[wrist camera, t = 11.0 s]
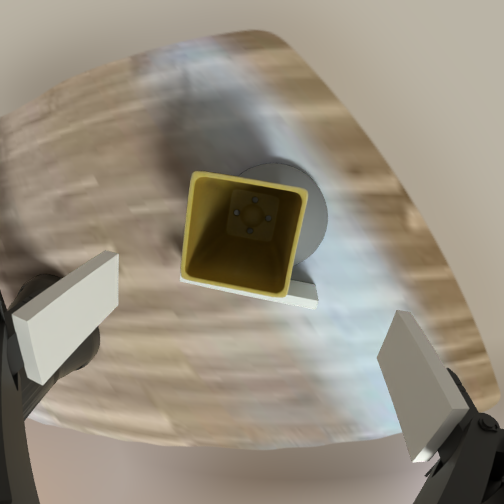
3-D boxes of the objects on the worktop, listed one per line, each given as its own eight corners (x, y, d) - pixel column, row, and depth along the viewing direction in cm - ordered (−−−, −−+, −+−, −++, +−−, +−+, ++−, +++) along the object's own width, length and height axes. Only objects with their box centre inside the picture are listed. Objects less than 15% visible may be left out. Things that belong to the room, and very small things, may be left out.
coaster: (214, 255, 35) (212, 257, 34) (230, 154, 32) (229, 154, 31) (313, 275, 35) (313, 278, 34) (337, 175, 31) (338, 176, 30)
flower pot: (216, 163, 31) (190, 169, 23) (303, 178, 31) (310, 189, 22) (205, 246, 34) (179, 279, 26) (286, 261, 34) (286, 300, 25)
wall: (190, 267, 36) (179, 281, 32) (191, 259, 36) (180, 272, 32) (313, 292, 35) (315, 309, 32) (315, 284, 35) (318, 300, 31)
